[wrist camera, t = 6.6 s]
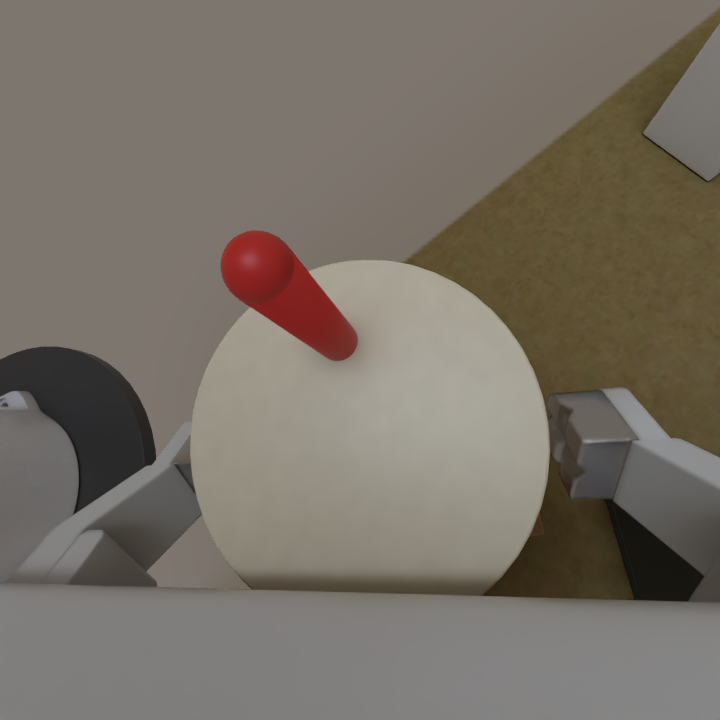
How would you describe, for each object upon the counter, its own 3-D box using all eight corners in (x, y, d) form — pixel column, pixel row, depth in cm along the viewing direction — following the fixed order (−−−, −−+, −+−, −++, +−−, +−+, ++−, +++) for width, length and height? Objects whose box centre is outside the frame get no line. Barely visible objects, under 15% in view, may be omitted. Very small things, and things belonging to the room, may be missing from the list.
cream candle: (341, 514, 14) (-98, 916, 2) (323, 372, 15) (-16, 196, 4) (493, 497, 13) (969, 1036, 1) (459, 345, 14) (561, -3, 3)
